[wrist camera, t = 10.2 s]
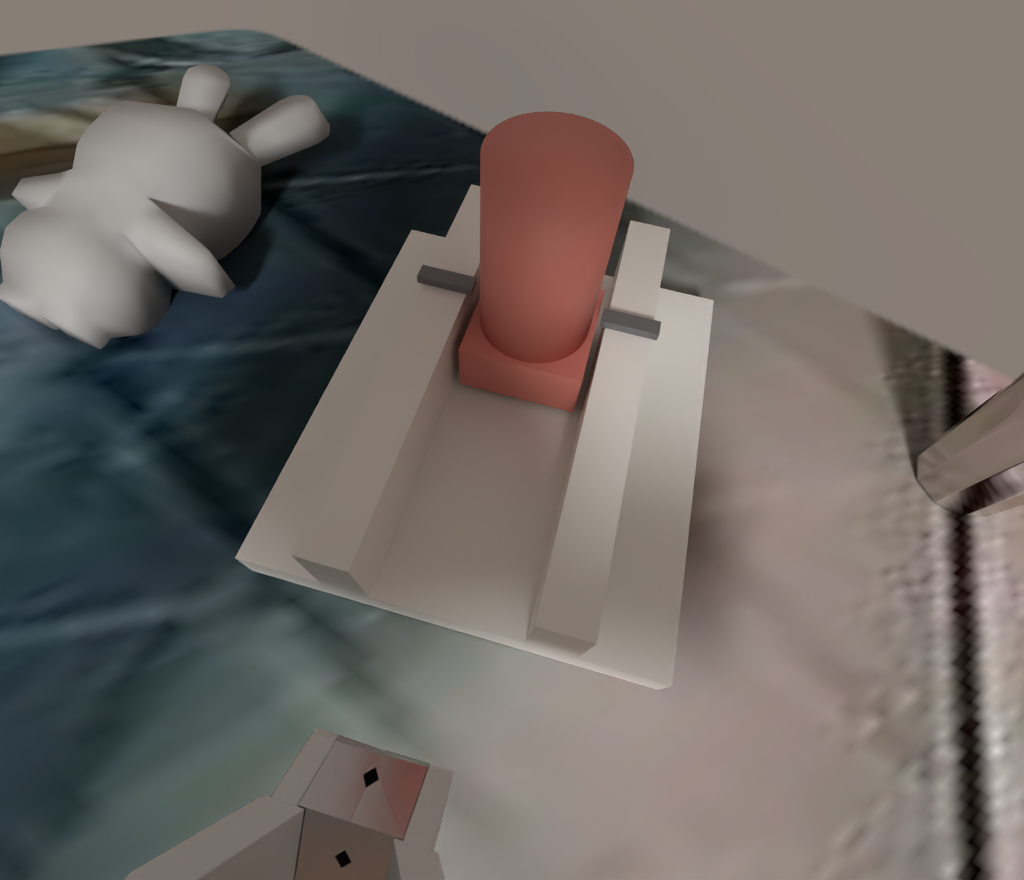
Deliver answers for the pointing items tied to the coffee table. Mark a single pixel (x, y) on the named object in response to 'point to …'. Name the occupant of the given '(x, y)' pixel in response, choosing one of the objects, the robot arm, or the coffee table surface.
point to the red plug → (543, 253)
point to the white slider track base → (504, 469)
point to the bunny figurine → (145, 210)
